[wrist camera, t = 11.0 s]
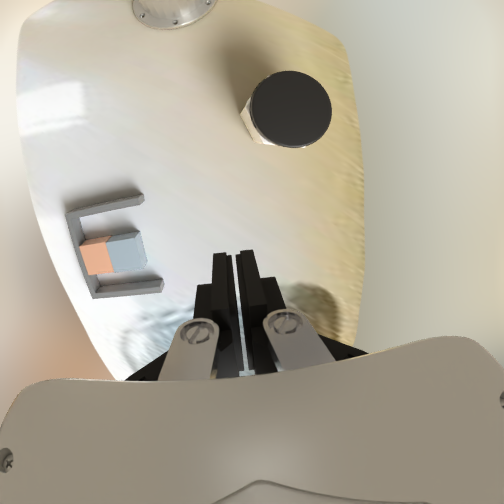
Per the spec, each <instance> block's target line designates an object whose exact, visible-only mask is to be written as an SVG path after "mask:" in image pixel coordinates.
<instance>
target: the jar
mask: <svg viewBox="0 0 504 504" xmlns="http://www.w3.org/2000/svg"><path fill="white" fill-rule="evenodd" d="M240 116H241V118H242V119H243V121H244V123H245V125H246V127H247V129H248V131H249V133H250V135H251V137H252V139H253V141H254V142H255V143H261V144H271V145H278V146H282V147H289V148H300V147H301V148H305V147H306V146H308V145H310V144H312V143H314V142H316V141H317V140H318V139H320V138H321V137H322V136H323V135H324V133H325V132H326V130H327V129H328V127H329V124H330V121H331V116H332V107H331V102H330V99H329V96H328V94H327V92H326V91H325V89H324V88H323V87H322V85H321V84H320V83H319V82H318V81H316V80H315V79H314V78H312V77H310V76H309V75H306V74H304V73H301V72H297V71H282V72H277V73H275V74H272V75H268V76H267V77H266V79H264V80H263V81H262V82H261V83H259V85H258V86H257V87H256V88H255V90H254V92H253V94H252V95H251V97H250V98H249V99H248V101H247V102H246V105H245V107H244V109H243V110H242V112H241V113H240Z"/></svg>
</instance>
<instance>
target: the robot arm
mask: <svg viewBox="0 0 504 504" xmlns="http://www.w3.org/2000/svg"><path fill="white" fill-rule="evenodd" d="M216 1H217V0H134V1H133V11H134V14H135V16H136V17H137V19H138V20H139V21H140V22H141V23H142V24H144V25H146V26H148V27H150V28H154V29H160V30H170V29H177V28H181V27H184V26H187V25H190V24H192V23H194V22H196V21H198V20H200V19H201V18H203V17H204V16H205V15H206V14H208V13H209V11H210V10H211V9H212V8H213V7H214V5H215V3H216ZM208 4H210V5H208ZM176 23H177V24H176ZM175 24H176V25H175ZM236 265H237V274H238V284H239V293H240V302H241V311H242V319H243V327H244V335H245V343H246V351H247V359H248V367H249V370H255V375H250V376H241V377H239V371H244V363H243V354H242V345H241V336H240V327H239V317H238V308H237V300H236V291H235V283H234V274H233V265H232V256H231V255H228V256H227V255H226V252H224V253H215V254H213V269H212V284H202V285H197V292H196V300H195V308H194V317H193V319H192V320H188V321H187V322H185V323H183V324H182V325H180V326H179V327H178V329H177V331H176V333H175V335H174V338H173V340H172V343H171V346H170V348H169V350H168V351H167V352H165V353H164V354H162V355H161V356H159V357H158V358H156V359H155V360H153V361H152V362H150V363H149V364H147V365H146V366H144V367H143V368H141V369H140V370H138V371H137V372H135V373H134V374H132V375H131V376H129V377H128V378H127V379H126V380H125V381H117V380H96V379H77V378H60V379H51V380H45V381H41V382H37V383H34V384H31V385H29V386H27V387H25V388H24V389H23V390H21V392H20V393H19V394H18V395H17V397H16V398H15V400H14V401H13V403H12V405H11V406H10V408H9V410H8V412H7V414H6V416H5V418H4V420H3V422H2V425H1V427H0V504H504V369H503V367H502V366H501V365H500V364H499V363H498V362H497V360H496V359H495V358H494V357H493V356H492V355H491V354H490V353H489V352H488V351H487V350H486V349H485V348H484V347H482V346H481V345H480V344H479V343H477V342H476V341H474V340H472V339H469V338H466V337H458V336H441V337H433V338H428V339H423V340H418V341H414V342H411V343H408V344H404V345H400V346H396V347H392V348H388V349H385V350H382V351H378V352H374V353H370V354H368V353H366V352H364V351H362V350H359V349H357V348H354V347H351V346H348V345H346V344H343V343H340V342H338V341H335V340H332V339H330V338H327V337H324V336H322V335H319V334H317V333H316V331H315V330H314V328H313V327H312V325H311V324H310V322H309V321H308V320H307V318H306V317H305V316H304V315H303V314H302V313H300V312H298V311H295V310H291V309H286V306H285V303H284V301H283V298H282V295H281V292H280V289H279V286H278V283H277V281H276V278H275V277H268V278H260V275H259V271H258V267H257V264H256V260H255V256H254V252H253V250H243V251H240V254H237V255H236Z"/></svg>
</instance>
